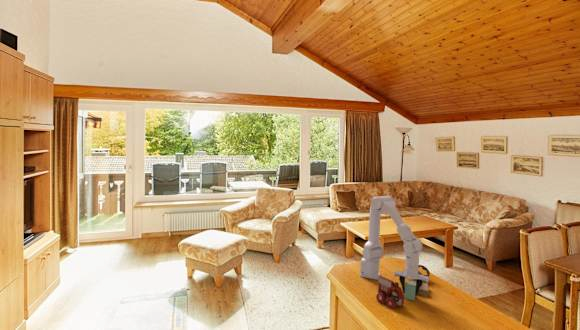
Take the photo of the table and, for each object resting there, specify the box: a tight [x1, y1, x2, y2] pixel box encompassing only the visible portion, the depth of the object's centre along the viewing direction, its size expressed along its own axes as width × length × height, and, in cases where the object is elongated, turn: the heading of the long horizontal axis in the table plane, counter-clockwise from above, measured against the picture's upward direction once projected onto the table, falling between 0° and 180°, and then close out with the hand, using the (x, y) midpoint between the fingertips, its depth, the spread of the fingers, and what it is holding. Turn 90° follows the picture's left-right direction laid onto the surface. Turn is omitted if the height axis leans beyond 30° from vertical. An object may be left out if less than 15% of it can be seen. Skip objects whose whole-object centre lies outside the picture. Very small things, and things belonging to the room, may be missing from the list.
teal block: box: [403, 281, 416, 301], centre depth 141 cm, size 4×4×6 cm
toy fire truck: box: [376, 275, 405, 309], centre depth 135 cm, size 7×12×10 cm, turn 39°
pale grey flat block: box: [409, 279, 429, 297], centre depth 148 cm, size 8×8×3 cm
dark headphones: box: [418, 264, 431, 283], centre depth 160 cm, size 12×10×8 cm
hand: (409, 293), depth 141 cm, fingers closed on teal block, 4 cm apart
